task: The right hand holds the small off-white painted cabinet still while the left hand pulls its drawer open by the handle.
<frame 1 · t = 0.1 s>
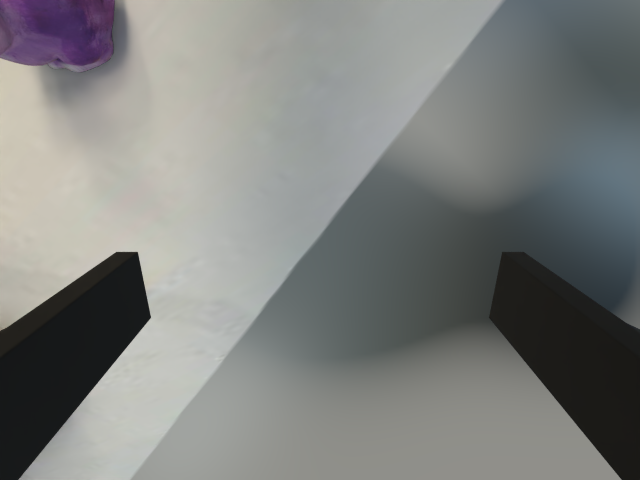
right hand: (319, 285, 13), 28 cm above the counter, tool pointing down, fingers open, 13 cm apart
figurine: (75, 34, 34), on the counter
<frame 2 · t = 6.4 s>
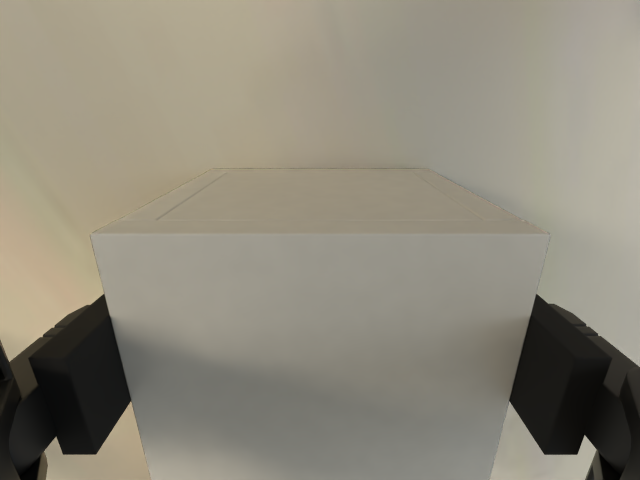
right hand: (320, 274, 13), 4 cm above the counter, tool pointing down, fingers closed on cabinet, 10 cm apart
cabinet: (320, 357, 20), on the counter, touching right hand
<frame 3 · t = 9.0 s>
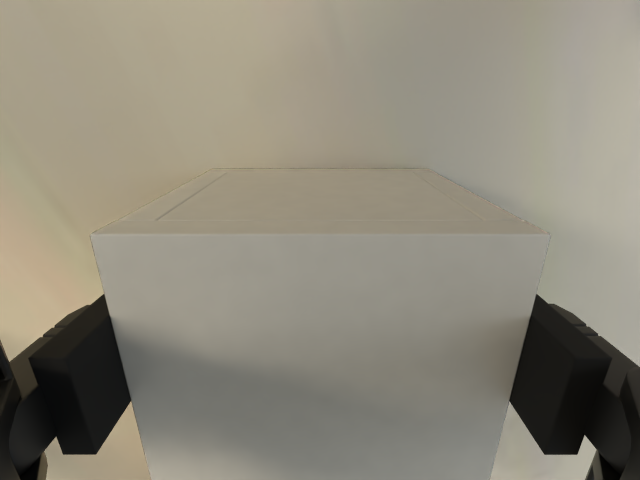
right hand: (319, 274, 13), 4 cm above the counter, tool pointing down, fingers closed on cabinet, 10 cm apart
cabinet: (320, 357, 20), on the counter, touching right hand
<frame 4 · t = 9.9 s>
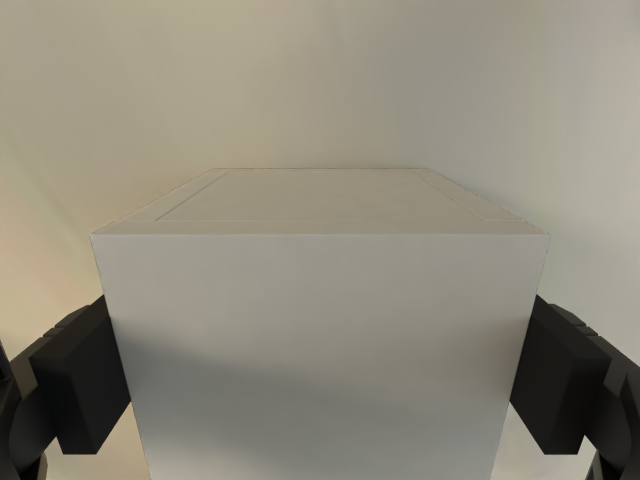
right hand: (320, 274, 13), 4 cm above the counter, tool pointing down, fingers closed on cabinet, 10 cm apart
cabinet: (320, 357, 20), on the counter, touching right hand
when the right hand's fingers open (4 cm above the counter, at t = 11.5 s): cabinet stays where it is, on the counter.
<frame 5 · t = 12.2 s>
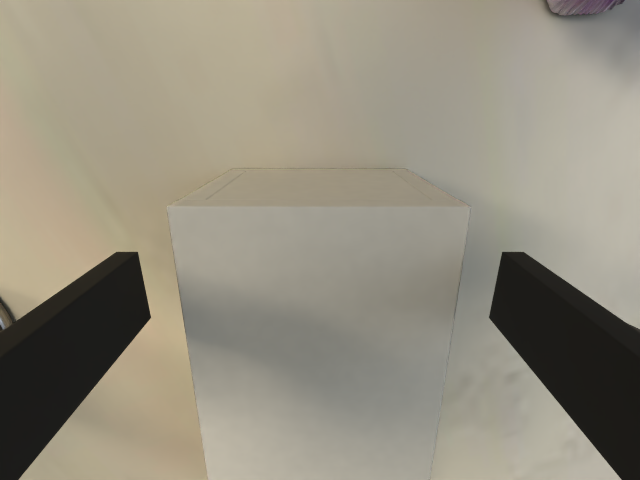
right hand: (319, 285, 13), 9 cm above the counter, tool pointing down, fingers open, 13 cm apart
cabinet: (319, 328, 24), on the counter
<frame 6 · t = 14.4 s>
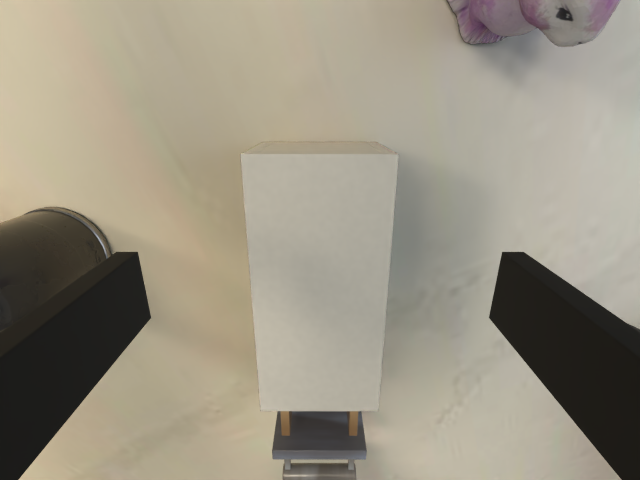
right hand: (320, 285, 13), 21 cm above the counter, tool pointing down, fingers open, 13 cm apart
cabinet: (319, 254, 35), on the counter
drawer: (319, 371, 34), point 5 cm above the counter, slide at 6.0 cm
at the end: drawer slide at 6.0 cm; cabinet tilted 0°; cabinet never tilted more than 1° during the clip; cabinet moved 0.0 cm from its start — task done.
